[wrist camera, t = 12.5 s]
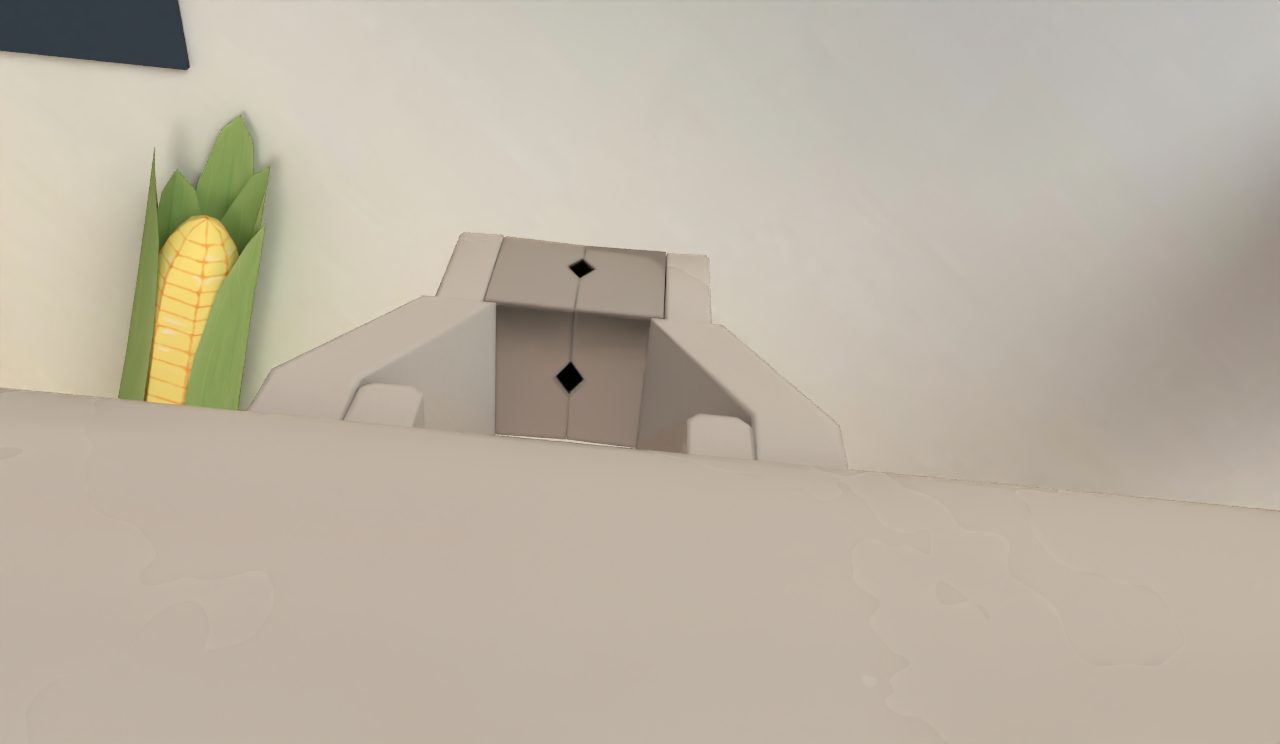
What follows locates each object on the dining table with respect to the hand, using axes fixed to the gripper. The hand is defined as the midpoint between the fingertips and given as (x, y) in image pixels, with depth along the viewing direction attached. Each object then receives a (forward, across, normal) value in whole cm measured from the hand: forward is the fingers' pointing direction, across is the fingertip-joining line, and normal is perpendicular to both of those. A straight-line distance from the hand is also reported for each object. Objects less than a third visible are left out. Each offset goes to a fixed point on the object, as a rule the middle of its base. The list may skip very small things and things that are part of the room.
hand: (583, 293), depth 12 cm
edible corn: (+24, +17, +18) cm, 35 cm away
